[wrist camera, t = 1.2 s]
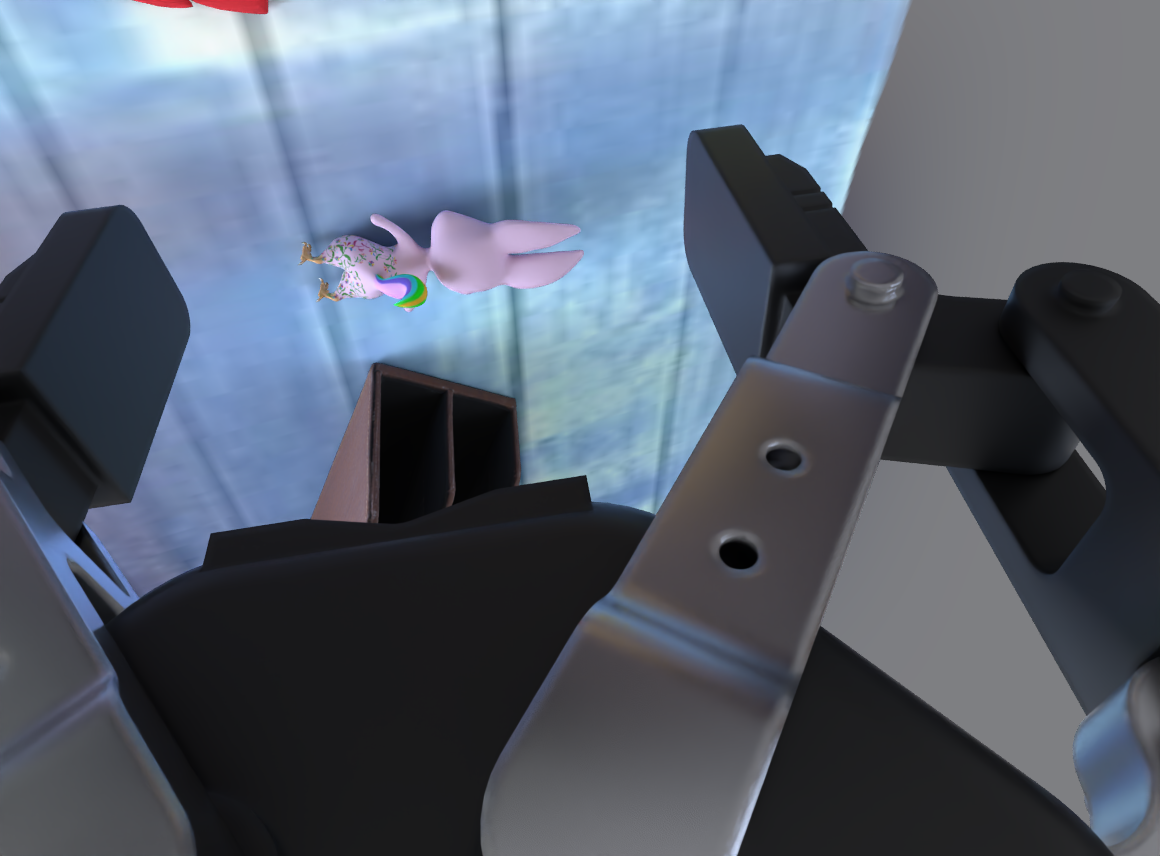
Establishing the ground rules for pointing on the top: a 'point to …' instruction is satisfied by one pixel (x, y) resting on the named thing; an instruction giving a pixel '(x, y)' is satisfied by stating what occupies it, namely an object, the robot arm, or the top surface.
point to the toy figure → (216, 4)
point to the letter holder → (419, 449)
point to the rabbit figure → (448, 258)
